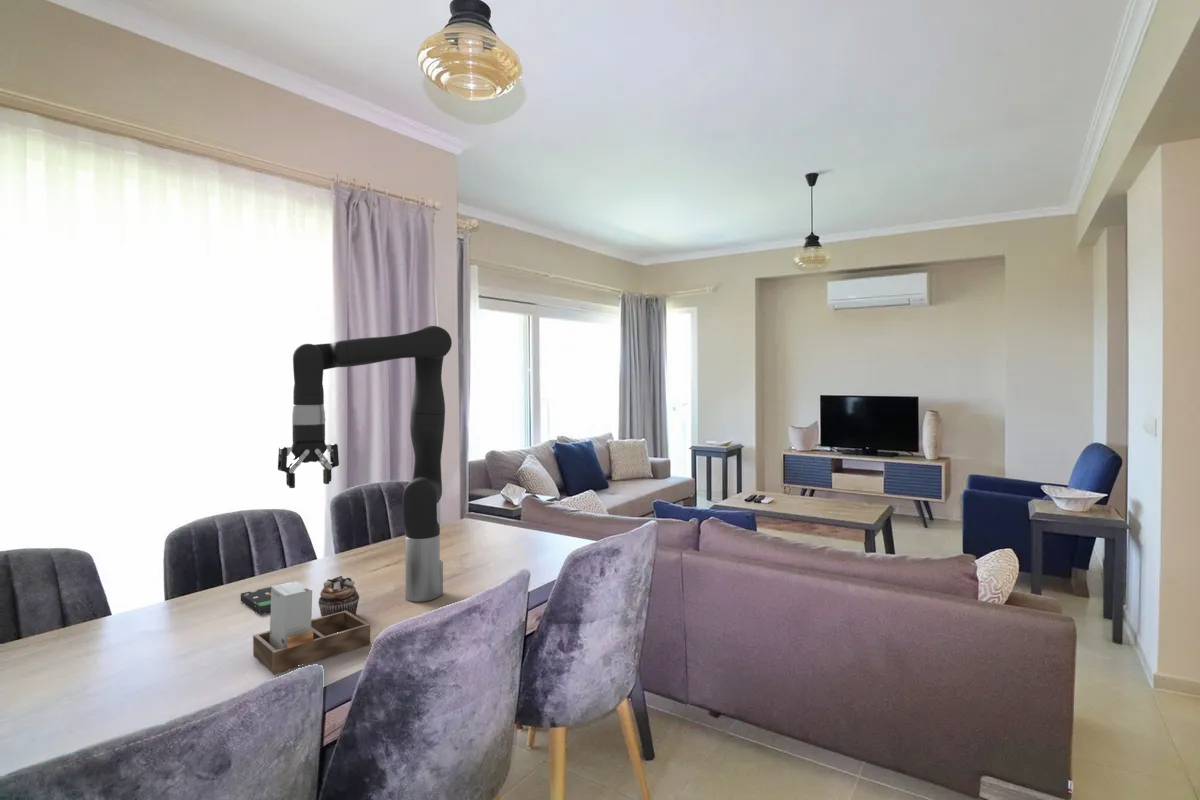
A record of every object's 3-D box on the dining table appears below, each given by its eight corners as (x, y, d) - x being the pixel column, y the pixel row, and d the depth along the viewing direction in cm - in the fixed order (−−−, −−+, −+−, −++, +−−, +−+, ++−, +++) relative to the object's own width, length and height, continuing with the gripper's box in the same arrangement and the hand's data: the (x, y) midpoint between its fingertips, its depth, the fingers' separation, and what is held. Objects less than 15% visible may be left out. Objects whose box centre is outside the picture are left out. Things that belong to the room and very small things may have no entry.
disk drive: (239, 603, 167) (259, 616, 157) (239, 593, 167) (259, 605, 157) (279, 594, 174) (301, 606, 165) (279, 584, 174) (301, 595, 164)
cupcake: (309, 622, 152) (309, 582, 152) (339, 609, 161) (338, 571, 161) (339, 627, 149) (338, 587, 149) (367, 614, 158) (367, 575, 158)
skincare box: (268, 653, 134) (268, 585, 133) (297, 645, 138) (296, 579, 138) (284, 665, 128) (283, 594, 128) (313, 656, 133) (313, 587, 132)
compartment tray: (346, 628, 148) (346, 602, 148) (370, 644, 139) (370, 615, 139) (253, 655, 133) (253, 625, 133) (273, 674, 125) (273, 642, 124)
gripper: (330, 420, 164) (331, 481, 165) (273, 423, 154) (274, 487, 154) (342, 422, 159) (343, 484, 159) (284, 424, 149) (285, 491, 149)
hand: (309, 485), depth 157 cm, fingers open, 8 cm apart
